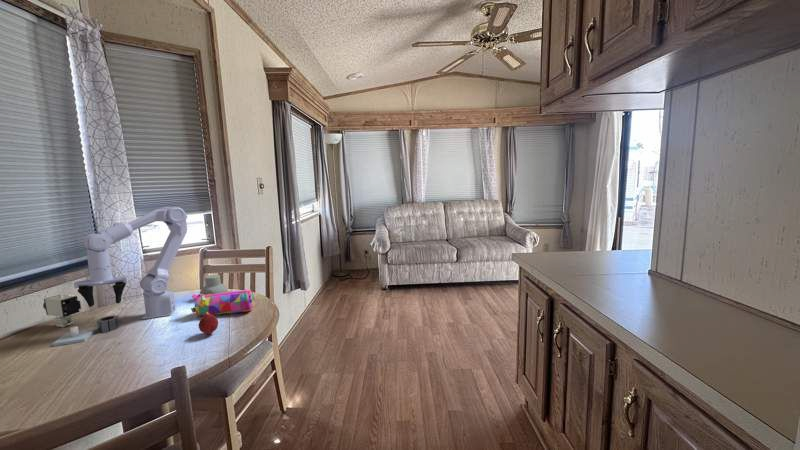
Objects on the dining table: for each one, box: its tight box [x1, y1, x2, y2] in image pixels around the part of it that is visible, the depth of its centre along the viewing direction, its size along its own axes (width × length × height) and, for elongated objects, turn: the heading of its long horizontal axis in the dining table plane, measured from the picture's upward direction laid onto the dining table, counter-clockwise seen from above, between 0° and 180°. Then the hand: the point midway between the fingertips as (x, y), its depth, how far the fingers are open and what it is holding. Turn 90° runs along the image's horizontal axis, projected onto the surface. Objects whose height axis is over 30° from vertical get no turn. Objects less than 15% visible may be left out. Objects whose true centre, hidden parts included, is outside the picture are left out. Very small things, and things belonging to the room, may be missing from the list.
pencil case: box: [190, 289, 255, 317], centre depth 130 cm, size 22×9×9 cm, turn 104°
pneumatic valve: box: [42, 293, 82, 328], centre depth 121 cm, size 6×12×12 cm, turn 77°
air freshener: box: [199, 274, 228, 295], centre depth 148 cm, size 11×8×10 cm
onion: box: [198, 312, 219, 335], centre depth 111 cm, size 6×6×8 cm
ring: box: [96, 314, 120, 334], centre depth 117 cm, size 5×5×4 cm
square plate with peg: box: [52, 325, 97, 347], centre depth 110 cm, size 8×8×4 cm
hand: (105, 304), depth 116 cm, fingers open, 7 cm apart
